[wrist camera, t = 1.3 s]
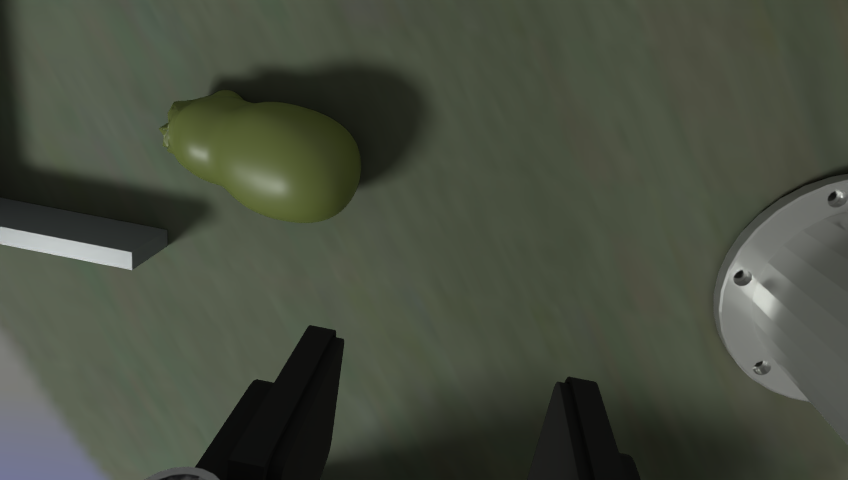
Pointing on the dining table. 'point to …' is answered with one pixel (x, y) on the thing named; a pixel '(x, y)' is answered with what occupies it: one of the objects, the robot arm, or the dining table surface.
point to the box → (78, 235)
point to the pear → (267, 154)
